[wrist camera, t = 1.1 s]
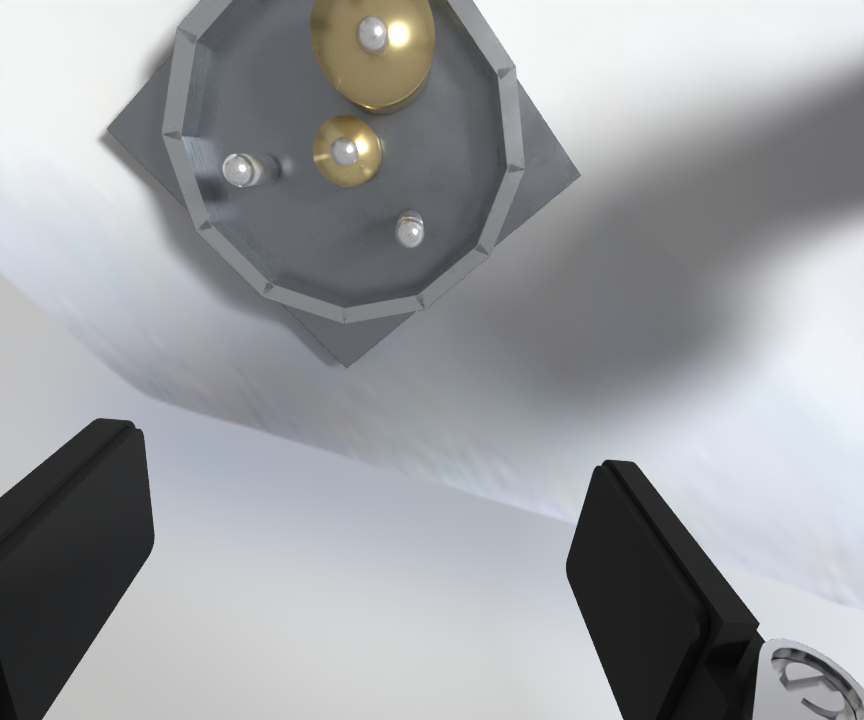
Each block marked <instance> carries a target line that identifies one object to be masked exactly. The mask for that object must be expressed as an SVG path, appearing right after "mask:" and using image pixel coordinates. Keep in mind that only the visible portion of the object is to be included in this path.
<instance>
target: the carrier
mask: <svg viewBox="0 0 864 720" xmlns="http://www.w3.org/2000/svg"><path fill="white" fill-rule="evenodd" d="M107 130H108V131H109V132H110V133H111V134H112V135H113V136H114V137H115V138H116V139H117V140H118V141H119V142H120V143H121V144H122V145H123V146H124V147H125V148H126V149H127V150H128V151H129V152H130V153H131V154H132V155H133V156H134V157H135V158H136V159H137V160H138V161H139V162H140V163H141V164H142V165H143V166H144V167H145V168H146V169H147V170H148V171H149V172H150V173H151V174H152V175H153V176H154V177H155V178H156V179H157V180H158V181H159V182H160V183H161V184H162V185H163V186H164V187H165V188H166V189H167V190H168V191H169V192H170V193H171V194H172V195H173V196H174V197H175V198H176V199H177V200H178V201H179V202H180V203H181V204H182V205H183V206H184V207H185V208H186V209H187V210H188V211H189V213H190V216H191V219H192V222H193V224H194V227H195V230H196V232H197V233H198V234H199V235H200V236H201V237H202V238H203V239H204V240H205V241H206V242H207V243H208V244H209V245H211V246H212V247H213V248H214V249H215V250H216V251H217V252H218V253H219V254H220V255H221V256H222V257H223V258H224V259H225V260H226V261H227V262H228V263H229V264H230V265H231V266H232V267H233V268H234V269H235V270H236V271H237V272H238V273H239V274H240V275H241V276H242V277H243V278H244V279H245V280H246V281H247V282H248V283H249V284H250V285H251V286H252V287H253V288H254V289H255V290H256V291H257V292H258V293H259V294H260V295H261V296H262V297H264V298H267V299H270V300H273V301H276V302H279V303H282V304H283V305H284V306H285V307H286V308H287V309H288V310H289V311H290V312H291V313H292V314H293V315H294V316H295V317H296V318H297V319H298V320H299V321H300V322H301V323H302V324H303V325H304V326H305V327H306V328H307V329H308V330H309V331H310V332H311V333H312V334H313V335H314V336H315V337H316V338H317V339H318V340H319V341H320V342H321V343H322V344H323V345H324V346H325V347H326V348H327V349H328V350H329V351H330V352H331V353H332V354H333V355H334V356H335V357H336V358H337V359H338V360H339V361H340V362H341V363H342V364H343V365H344V366H345V367H346V368H348V367H349V366H350V365H352V364H353V363H354V362H355V361H356V360H358V359H359V358H360V357H361V356H363V355H364V354H365V353H366V352H367V351H369V350H370V349H371V348H372V347H373V346H375V345H376V344H377V343H378V342H379V341H381V340H382V339H383V338H384V337H386V336H387V335H388V334H389V333H390V332H392V331H393V330H394V329H395V328H396V327H398V326H399V325H400V324H401V323H403V322H404V321H405V320H406V319H407V318H409V317H410V316H411V315H412V314H413V313H415V312H416V311H418V310H424V309H426V308H427V307H428V306H430V305H431V304H432V303H433V302H434V301H436V300H437V299H438V298H439V297H441V296H442V295H443V294H444V293H445V292H447V291H448V290H449V289H450V288H451V287H453V286H454V285H455V284H456V283H458V282H459V281H460V280H461V279H462V278H464V277H465V276H466V275H467V274H469V273H470V272H471V271H472V270H473V269H475V268H476V267H477V266H478V265H479V264H481V263H482V262H483V261H484V260H486V259H487V258H488V257H489V256H490V255H491V252H492V250H493V248H494V247H495V246H496V245H497V244H498V243H500V242H501V241H502V240H503V239H504V238H506V237H507V236H508V235H509V234H511V233H512V232H513V231H514V230H515V229H517V228H518V227H519V226H520V225H521V224H523V223H524V222H525V221H526V220H527V219H529V218H530V217H531V216H532V215H534V214H535V213H536V212H537V211H538V210H540V209H541V208H542V207H543V206H544V205H546V204H547V203H548V202H549V201H551V200H552V199H553V198H554V197H555V196H557V195H558V194H559V193H560V192H561V191H563V190H564V189H565V188H566V187H568V186H569V185H570V184H571V183H572V182H574V181H575V180H576V179H577V178H578V177H580V176H581V175H580V173H579V172H578V170H577V169H576V167H575V166H574V164H573V163H572V161H571V160H570V158H569V157H568V155H567V154H566V152H565V151H564V149H563V148H562V146H561V145H560V143H559V142H558V140H557V139H556V137H555V135H554V134H553V132H552V131H551V129H550V128H549V126H548V125H547V123H546V122H545V120H544V119H543V117H542V116H541V114H540V113H539V111H538V110H537V108H536V107H535V105H534V104H533V102H532V101H531V99H530V98H529V96H528V95H527V93H526V92H525V90H524V88H523V87H522V85H521V84H520V82H519V81H518V79H517V76H516V66H515V64H514V63H513V61H512V60H511V58H510V57H509V55H508V54H507V52H506V51H505V49H504V48H503V46H502V45H501V43H500V41H499V40H498V38H497V37H496V35H495V34H494V32H493V31H492V29H491V28H490V26H489V25H488V23H487V22H486V20H485V19H484V17H483V16H482V14H481V12H480V11H479V9H478V8H477V6H476V5H475V3H474V2H473V0H201V1H200V2H199V3H198V4H197V5H196V6H195V7H194V9H193V10H192V11H191V12H190V13H189V14H188V16H187V17H186V18H185V19H184V20H183V21H182V22H181V24H180V25H179V26H178V27H177V32H176V39H175V46H174V52H173V54H172V55H171V56H170V58H169V59H168V60H167V61H166V62H165V63H164V64H163V65H162V67H161V68H160V69H159V70H158V71H157V72H156V73H155V75H154V76H153V77H152V78H151V79H150V80H149V81H148V82H147V84H146V85H145V86H144V87H143V88H142V89H141V90H140V92H139V93H138V94H137V95H136V96H135V97H134V98H133V100H132V101H131V102H130V103H129V104H128V105H127V106H126V107H125V109H124V110H123V111H122V112H121V113H120V114H119V115H118V117H117V118H116V119H115V120H114V121H113V122H112V123H111V124H110V126H109V127H108V128H107Z"/></svg>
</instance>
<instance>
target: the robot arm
mask: <svg viewBox="0 0 864 720" xmlns="http://www.w3.org/2000/svg"><path fill="white" fill-rule="evenodd" d="M153 544H154V526H153V516H152V507H151V498H150V489H149V479H148V470H147V461H146V451H145V442H144V435H143V432H142V430H141V429H136V428H135V425H134V424H133V422H131V421H127V420H116V419H104V418H100V419H96V420H94V421H93V422H91V423H90V424H89V425H88V426H87V427H85V428H84V429H83V430H82V431H81V432H79V433H78V434H77V435H76V436H74V437H73V438H72V439H71V440H70V441H68V442H67V443H66V444H65V445H64V446H62V447H61V448H60V449H59V450H57V451H56V452H55V453H54V454H53V455H51V456H50V457H49V458H48V459H46V460H45V461H44V462H43V463H42V464H40V465H39V466H38V467H37V468H36V469H34V470H33V471H32V472H31V473H29V474H28V475H27V476H26V477H25V478H24V479H22V480H21V481H20V482H19V483H17V484H16V485H15V486H14V487H12V488H11V489H10V490H9V491H8V492H6V493H5V494H4V495H3V496H1V497H0V720H42V719H43V717H44V716H45V714H46V713H47V711H48V710H49V708H50V707H51V705H52V703H53V702H54V700H55V699H56V697H57V696H58V694H59V693H60V691H61V690H62V688H63V687H64V685H65V683H66V682H67V680H68V679H69V677H70V676H71V674H72V673H73V671H74V670H75V668H76V667H77V665H78V664H79V662H80V661H81V659H82V658H83V656H84V654H85V653H86V651H87V650H88V648H89V647H90V645H91V644H92V642H93V641H94V639H95V638H96V636H97V634H98V633H99V631H100V630H101V628H102V627H103V625H104V624H105V622H106V621H107V619H108V618H109V616H110V615H111V613H112V612H113V610H114V609H115V607H116V606H117V604H118V602H119V601H120V599H121V598H122V596H123V595H124V593H125V592H126V590H127V588H128V587H129V586H130V584H131V582H132V581H133V579H134V578H135V576H136V575H137V573H138V572H139V570H140V569H141V567H142V566H143V564H144V563H145V561H146V560H147V558H148V557H149V555H150V553H151V550H152V548H153ZM566 573H567V578H568V581H569V583H570V586H571V588H572V590H573V593H574V596H575V598H576V601H577V603H578V606H579V608H580V611H581V613H582V616H583V618H584V621H585V623H586V626H587V629H588V631H589V634H590V636H591V639H592V641H593V644H594V646H595V649H596V651H597V654H598V656H599V659H600V662H601V664H602V667H603V669H604V672H605V674H606V677H607V679H608V682H609V684H610V687H611V689H612V692H613V695H614V697H615V699H616V702H617V705H618V707H619V710H620V712H621V715H622V717H623V719H624V720H864V689H863V688H862V686H861V685H860V684H859V683H858V682H857V681H856V680H855V679H854V678H853V677H852V676H851V675H850V674H849V673H848V672H847V671H846V670H844V669H843V668H842V667H841V666H839V665H838V664H837V663H836V662H834V661H833V660H832V659H830V658H828V657H827V656H825V655H823V654H822V653H820V652H818V651H817V650H815V649H813V648H811V647H808V646H806V645H804V644H802V643H799V642H795V641H791V640H787V639H771V640H769V641H767V642H765V641H764V640H763V638H762V637H761V636H760V634H759V633H758V632H757V628H758V626H759V622H758V621H757V619H756V618H755V617H754V616H753V614H752V613H751V612H750V610H749V609H748V608H747V606H746V605H745V604H744V603H743V601H742V600H741V599H740V597H739V596H738V595H737V594H736V592H735V591H734V590H733V589H732V587H731V586H730V585H729V583H728V582H727V581H726V579H725V578H724V577H723V576H722V574H721V573H720V572H719V570H718V569H717V568H716V566H715V565H714V564H713V563H712V561H711V560H710V559H709V557H708V556H707V555H706V554H705V552H704V551H703V550H702V548H701V547H700V546H699V545H698V543H697V542H696V541H695V539H694V538H693V537H692V536H691V534H690V533H689V532H688V530H687V529H686V528H685V526H684V525H683V524H682V523H681V521H680V520H679V519H678V517H677V516H676V515H675V514H674V512H673V511H672V510H671V508H670V507H669V506H668V505H667V503H666V502H665V501H664V499H663V498H662V497H661V496H660V494H659V493H658V492H657V490H656V489H655V488H654V486H653V485H652V484H651V483H650V481H649V480H648V479H647V477H646V476H645V475H644V474H643V472H642V471H641V470H640V468H639V467H638V466H637V465H636V464H635V463H634V462H630V461H618V460H605V461H604V462H603V463H602V465H601V466H596V467H595V469H594V471H593V474H592V477H591V481H590V484H589V487H588V491H587V494H586V497H585V501H584V504H583V507H582V511H581V514H580V517H579V521H578V524H577V528H576V531H575V534H574V538H573V541H572V544H571V548H570V551H569V554H568V558H567V562H566Z"/></svg>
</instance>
